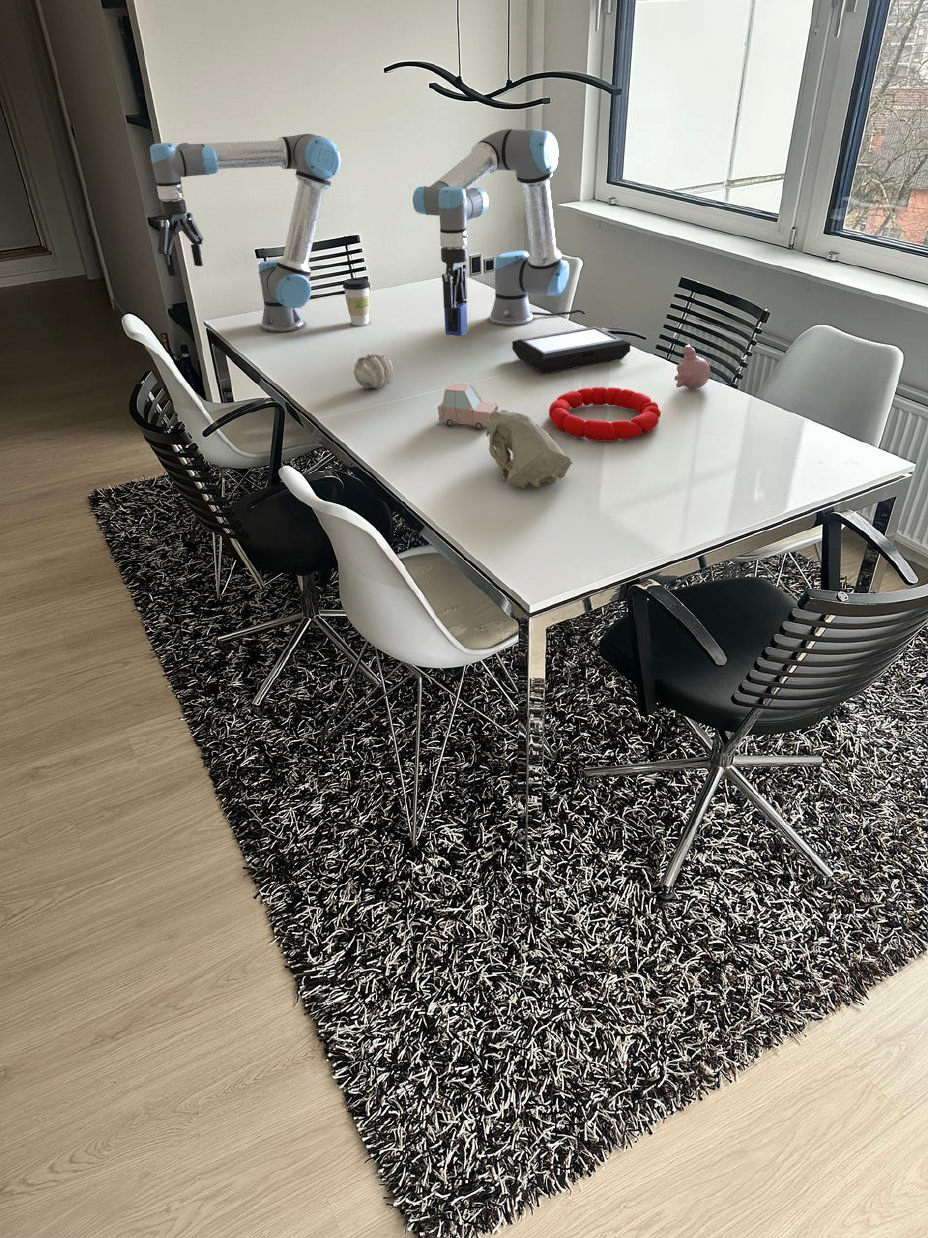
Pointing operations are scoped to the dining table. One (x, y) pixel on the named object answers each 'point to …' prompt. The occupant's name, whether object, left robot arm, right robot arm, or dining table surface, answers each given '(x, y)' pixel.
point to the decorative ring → (604, 428)
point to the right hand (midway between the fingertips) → (456, 328)
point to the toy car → (465, 406)
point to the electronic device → (570, 349)
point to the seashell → (373, 371)
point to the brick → (458, 320)
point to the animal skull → (525, 450)
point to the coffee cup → (357, 300)
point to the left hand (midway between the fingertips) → (186, 270)
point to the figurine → (692, 370)
